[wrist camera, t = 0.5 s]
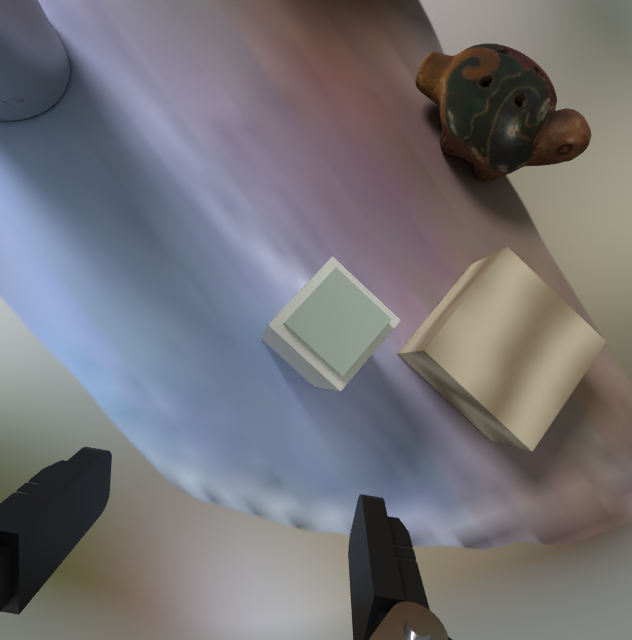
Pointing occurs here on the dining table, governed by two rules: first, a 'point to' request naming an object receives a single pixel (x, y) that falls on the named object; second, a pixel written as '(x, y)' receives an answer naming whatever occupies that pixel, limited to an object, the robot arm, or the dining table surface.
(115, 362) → the dining table surface
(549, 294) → the block
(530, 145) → the decorative turtle
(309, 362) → the tin
